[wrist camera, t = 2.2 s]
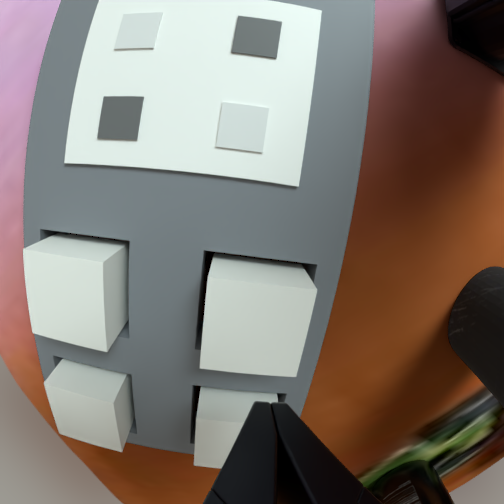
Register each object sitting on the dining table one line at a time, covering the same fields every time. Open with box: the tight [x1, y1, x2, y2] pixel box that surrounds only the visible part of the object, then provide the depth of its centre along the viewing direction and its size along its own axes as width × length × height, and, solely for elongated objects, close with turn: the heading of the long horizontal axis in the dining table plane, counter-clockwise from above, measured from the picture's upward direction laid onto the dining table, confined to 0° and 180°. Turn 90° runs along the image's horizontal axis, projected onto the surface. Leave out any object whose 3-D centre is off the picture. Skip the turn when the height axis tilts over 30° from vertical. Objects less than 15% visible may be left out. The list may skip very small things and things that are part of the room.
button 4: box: [194, 386, 278, 468], centre depth 15 cm, size 4×4×3 cm
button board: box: [23, 0, 375, 454], centre depth 14 cm, size 15×26×3 cm, turn 172°
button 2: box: [44, 358, 135, 452], centre depth 15 cm, size 4×4×3 cm
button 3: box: [200, 253, 317, 377], centre depth 13 cm, size 4×4×3 cm
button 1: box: [23, 233, 130, 352], centre depth 13 cm, size 4×4×3 cm
